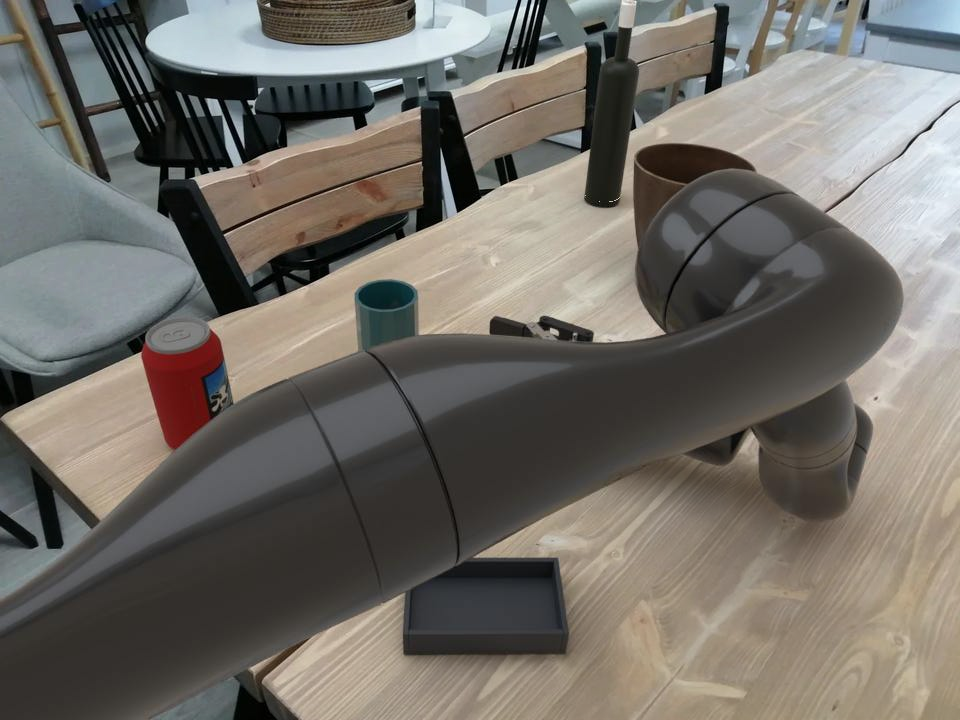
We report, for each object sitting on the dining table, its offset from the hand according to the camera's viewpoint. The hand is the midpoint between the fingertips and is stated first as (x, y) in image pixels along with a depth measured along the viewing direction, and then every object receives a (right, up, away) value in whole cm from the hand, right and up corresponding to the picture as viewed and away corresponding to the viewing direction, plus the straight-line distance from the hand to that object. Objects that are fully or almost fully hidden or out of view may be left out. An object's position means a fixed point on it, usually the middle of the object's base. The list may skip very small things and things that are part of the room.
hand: (471, 345), depth 73 cm
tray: (+1, -21, -17) cm, 27 cm away
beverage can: (-26, -9, -1) cm, 28 cm away
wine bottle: (+21, +25, +48) cm, 58 cm away
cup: (-9, -3, +8) cm, 12 cm away
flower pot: (+27, +10, +28) cm, 40 cm away
